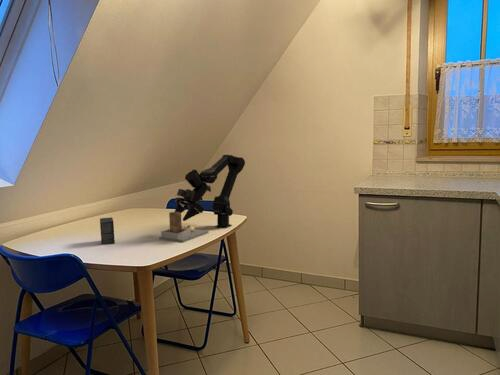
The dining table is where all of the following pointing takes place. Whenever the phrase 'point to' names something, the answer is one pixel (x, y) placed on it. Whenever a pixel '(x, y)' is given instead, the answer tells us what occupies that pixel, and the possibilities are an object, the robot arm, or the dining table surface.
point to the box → (107, 230)
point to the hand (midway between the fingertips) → (178, 218)
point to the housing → (182, 234)
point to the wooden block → (175, 222)
